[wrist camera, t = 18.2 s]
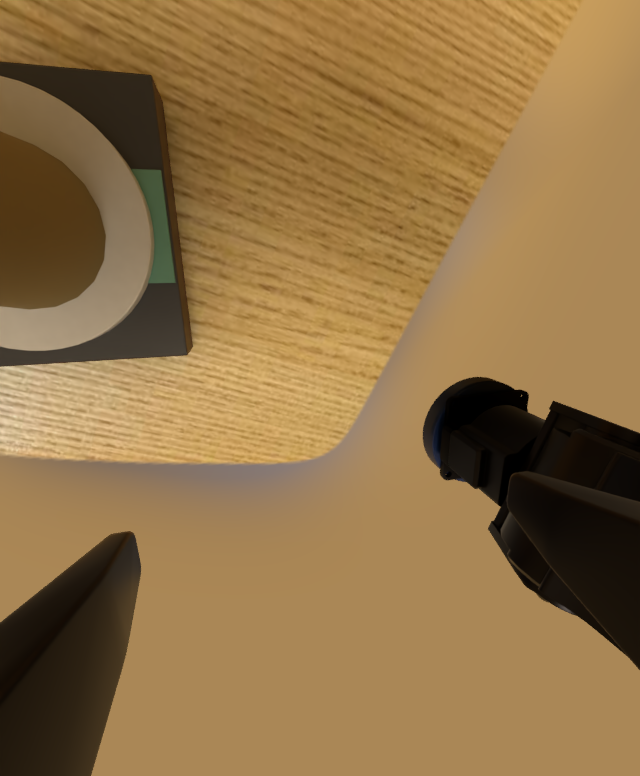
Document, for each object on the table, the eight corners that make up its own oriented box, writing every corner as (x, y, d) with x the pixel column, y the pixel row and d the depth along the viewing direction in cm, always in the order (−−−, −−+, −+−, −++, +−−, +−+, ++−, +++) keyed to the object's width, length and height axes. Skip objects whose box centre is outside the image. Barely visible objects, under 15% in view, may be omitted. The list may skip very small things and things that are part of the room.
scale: (162, 101, 16) (146, 62, 13) (192, 347, 19) (185, 358, 16) (-146, 78, 14) (-244, 25, 11) (-54, 361, 17) (-111, 377, 14)
